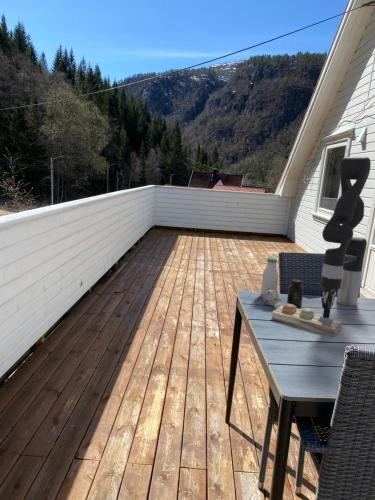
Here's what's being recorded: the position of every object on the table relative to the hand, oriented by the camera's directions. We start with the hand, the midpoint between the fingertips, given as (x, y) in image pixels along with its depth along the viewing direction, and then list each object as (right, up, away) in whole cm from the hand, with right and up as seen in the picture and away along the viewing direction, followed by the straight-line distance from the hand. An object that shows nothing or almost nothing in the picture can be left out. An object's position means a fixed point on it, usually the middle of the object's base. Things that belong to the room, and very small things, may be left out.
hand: (326, 317), depth 135 cm
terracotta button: (-12, 0, +9) cm, 15 cm away
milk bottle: (-14, +3, +37) cm, 39 cm away
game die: (-17, +1, +24) cm, 29 cm away
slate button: (0, -3, +1) cm, 3 cm away
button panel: (-6, -3, +5) cm, 9 cm away
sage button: (-6, -1, +5) cm, 8 cm away
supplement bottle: (-4, +1, +27) cm, 27 cm away
